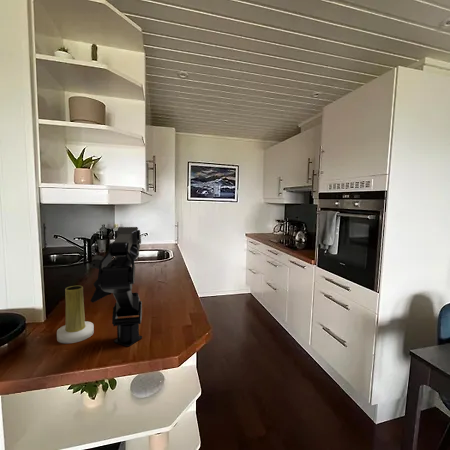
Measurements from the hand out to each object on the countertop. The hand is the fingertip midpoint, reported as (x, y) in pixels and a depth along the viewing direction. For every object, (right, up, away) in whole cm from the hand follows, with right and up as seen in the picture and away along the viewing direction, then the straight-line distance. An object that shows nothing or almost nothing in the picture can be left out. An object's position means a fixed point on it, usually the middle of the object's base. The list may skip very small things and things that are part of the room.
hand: (96, 295), depth 91 cm
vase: (-7, -11, -1) cm, 13 cm away
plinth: (-7, -13, 0) cm, 15 cm away
